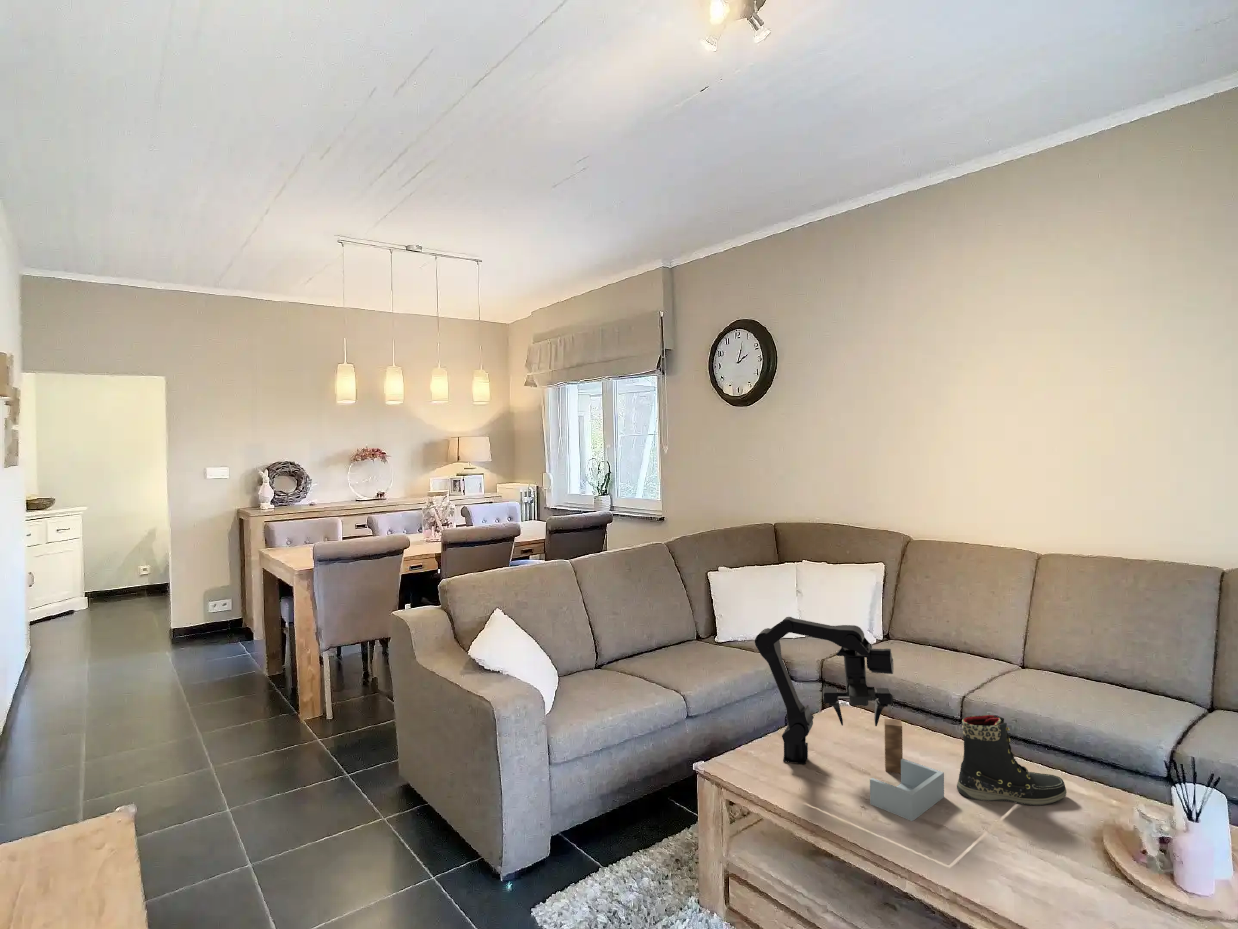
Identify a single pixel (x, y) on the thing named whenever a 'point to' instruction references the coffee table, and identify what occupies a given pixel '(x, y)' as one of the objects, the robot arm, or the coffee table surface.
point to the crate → (909, 791)
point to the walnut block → (893, 745)
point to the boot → (1000, 767)
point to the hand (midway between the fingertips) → (859, 725)
